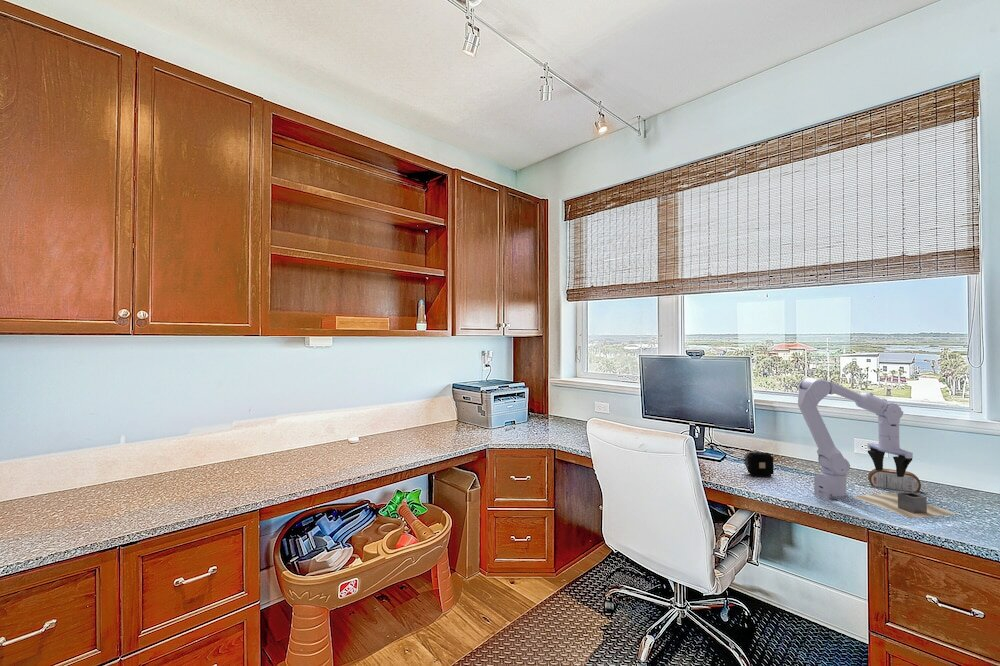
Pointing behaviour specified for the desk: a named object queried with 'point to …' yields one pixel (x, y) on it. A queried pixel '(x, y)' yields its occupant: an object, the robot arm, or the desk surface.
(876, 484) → the tin
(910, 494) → the grey hollow cube
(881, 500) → the board
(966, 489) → the desk surface
